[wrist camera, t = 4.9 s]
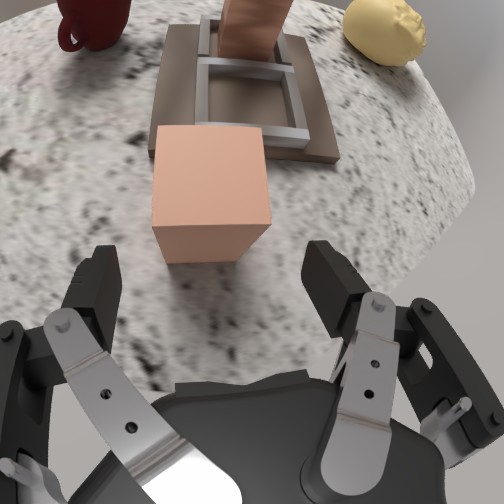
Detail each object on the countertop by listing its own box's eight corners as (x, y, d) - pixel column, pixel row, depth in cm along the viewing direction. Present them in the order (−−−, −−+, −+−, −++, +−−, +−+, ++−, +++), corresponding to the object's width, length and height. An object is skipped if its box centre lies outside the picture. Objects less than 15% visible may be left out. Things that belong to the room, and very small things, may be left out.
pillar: (166, 263, 20) (151, 226, 11) (166, 197, 21) (157, 125, 12) (236, 261, 21) (271, 224, 12) (231, 196, 22) (261, 127, 13)
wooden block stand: (149, 157, 21) (135, 62, 11) (168, 32, 24) (174, -40, 15) (334, 164, 25) (400, 98, 15) (301, 44, 28) (332, -17, 18)
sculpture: (396, 89, 30) (441, 42, 20) (322, 38, 30) (356, -18, 19) (406, 61, 34) (441, 23, 23) (346, 19, 33) (374, -25, 23)
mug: (113, 76, 22) (101, -4, 12) (49, 80, 20) (25, 13, 11) (145, 23, 24) (146, -42, 15) (88, 26, 23) (79, -33, 13)
